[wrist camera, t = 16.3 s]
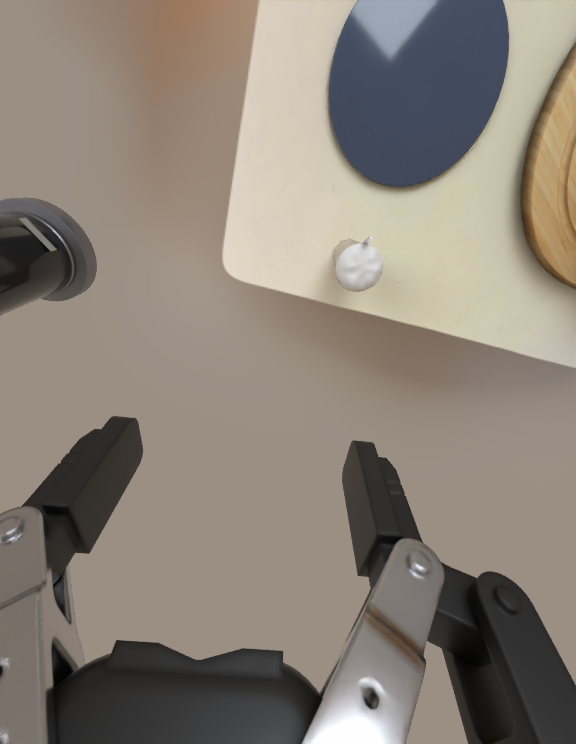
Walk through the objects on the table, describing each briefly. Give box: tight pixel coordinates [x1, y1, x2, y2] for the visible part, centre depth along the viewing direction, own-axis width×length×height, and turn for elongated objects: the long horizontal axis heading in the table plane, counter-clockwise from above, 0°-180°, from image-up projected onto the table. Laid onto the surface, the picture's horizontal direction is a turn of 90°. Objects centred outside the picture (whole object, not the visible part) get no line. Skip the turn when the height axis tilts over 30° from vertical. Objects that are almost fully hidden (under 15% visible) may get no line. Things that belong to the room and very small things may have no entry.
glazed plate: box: [329, 0, 509, 187], centre depth 28 cm, size 16×16×1 cm
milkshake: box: [333, 237, 383, 292], centre depth 31 cm, size 4×5×10 cm
